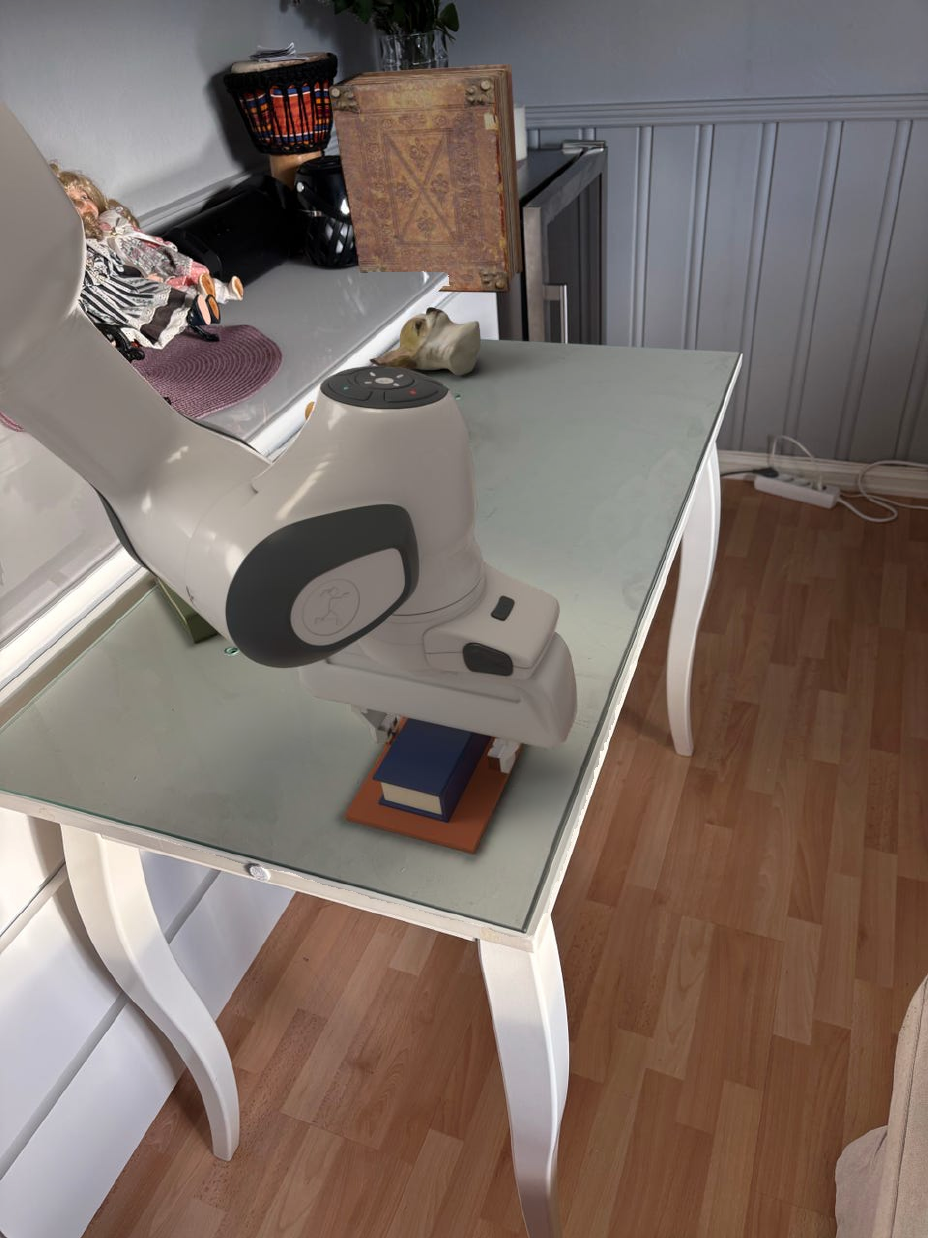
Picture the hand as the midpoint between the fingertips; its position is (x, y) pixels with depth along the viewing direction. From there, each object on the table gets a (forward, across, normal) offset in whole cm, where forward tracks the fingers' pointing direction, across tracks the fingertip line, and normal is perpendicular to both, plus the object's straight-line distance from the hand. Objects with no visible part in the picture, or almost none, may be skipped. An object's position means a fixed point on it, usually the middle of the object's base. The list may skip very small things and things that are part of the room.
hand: (443, 751), depth 68 cm
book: (+2, -41, +98) cm, 106 cm away
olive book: (+1, -28, +17) cm, 33 cm away
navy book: (+1, 0, 0) cm, 1 cm away
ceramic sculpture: (+2, -29, +66) cm, 72 cm away
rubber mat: (+1, 0, 0) cm, 1 cm away
